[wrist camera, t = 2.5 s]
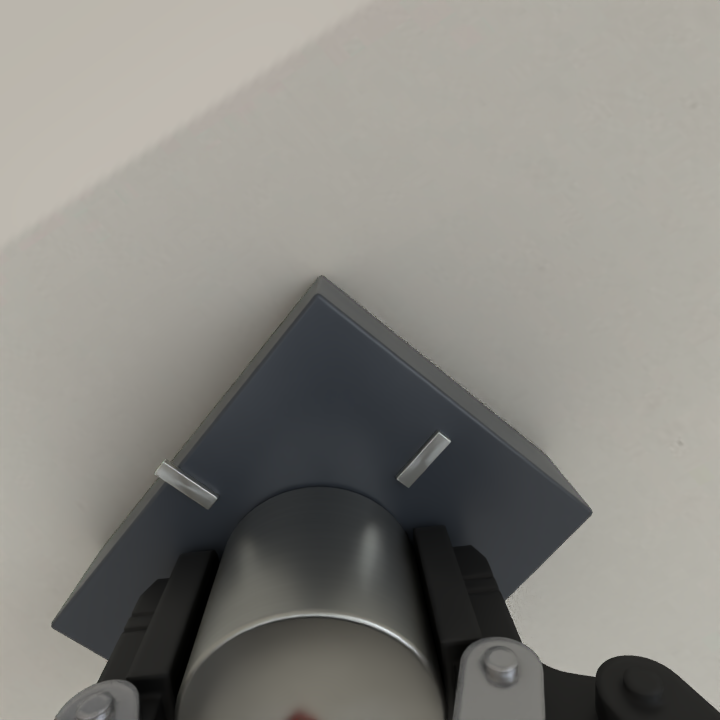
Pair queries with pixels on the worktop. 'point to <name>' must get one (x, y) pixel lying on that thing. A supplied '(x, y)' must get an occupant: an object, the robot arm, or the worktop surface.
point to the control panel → (334, 462)
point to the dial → (315, 619)
